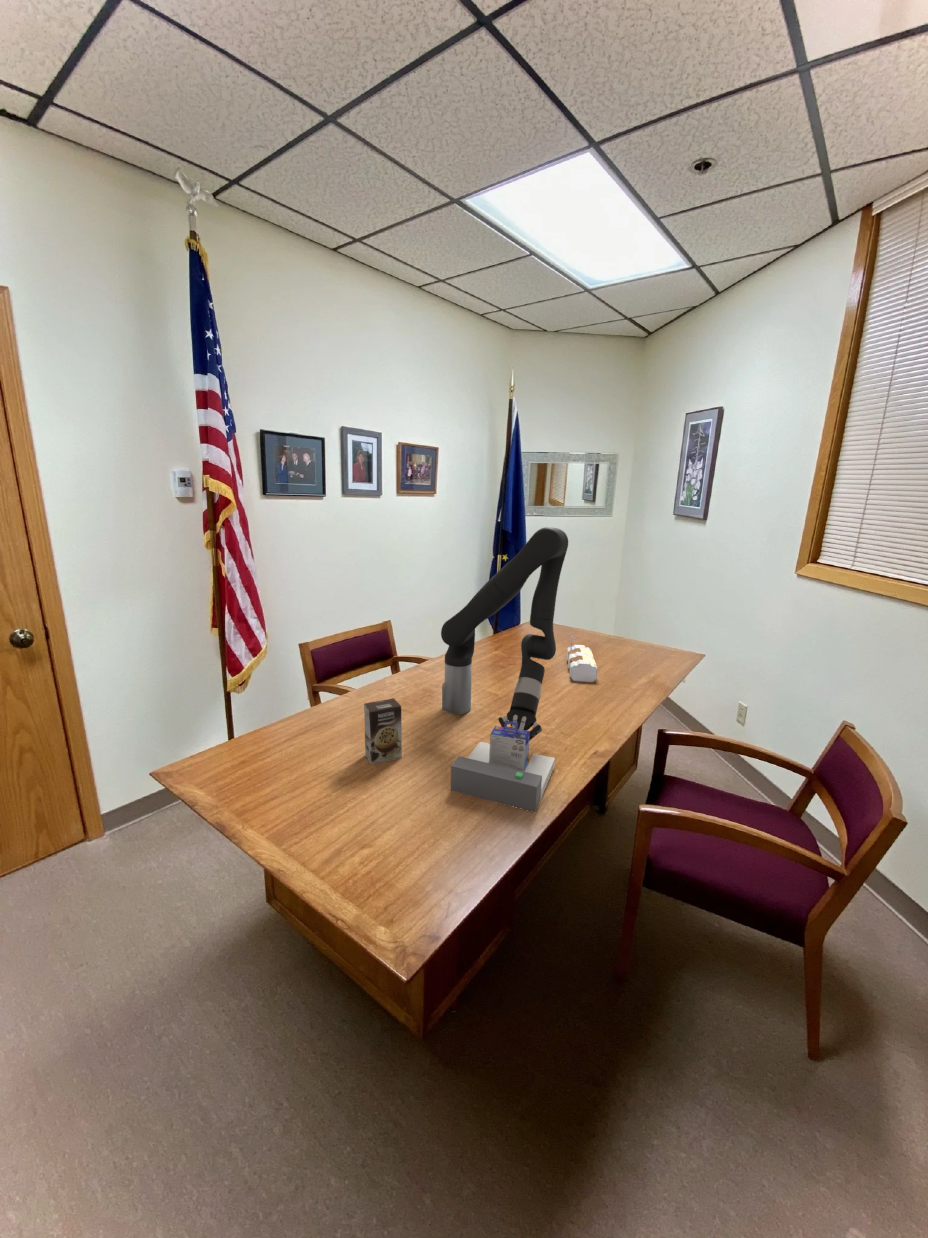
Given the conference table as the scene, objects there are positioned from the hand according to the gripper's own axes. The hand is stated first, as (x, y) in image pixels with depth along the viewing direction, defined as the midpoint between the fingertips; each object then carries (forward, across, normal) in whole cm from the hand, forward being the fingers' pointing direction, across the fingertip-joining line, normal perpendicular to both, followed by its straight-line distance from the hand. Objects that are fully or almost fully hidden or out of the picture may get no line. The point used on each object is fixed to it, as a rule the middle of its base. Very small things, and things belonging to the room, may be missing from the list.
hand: (512, 754), depth 132 cm
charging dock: (+7, 0, -2) cm, 7 cm away
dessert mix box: (+10, -35, -4) cm, 37 cm away
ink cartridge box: (+5, 0, 0) cm, 5 cm away
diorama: (-56, +6, +62) cm, 84 cm away
